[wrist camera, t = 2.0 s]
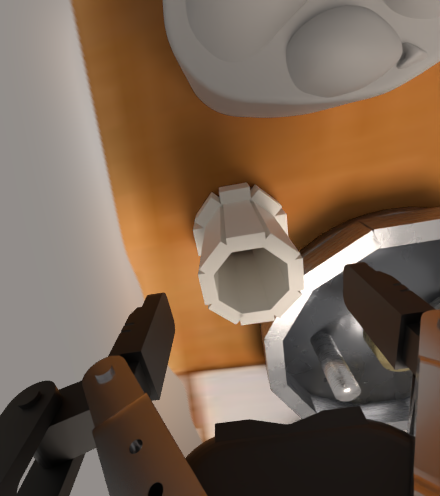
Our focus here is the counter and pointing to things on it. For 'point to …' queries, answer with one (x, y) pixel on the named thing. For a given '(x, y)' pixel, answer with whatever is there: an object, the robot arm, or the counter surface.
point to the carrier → (351, 317)
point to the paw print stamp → (299, 51)
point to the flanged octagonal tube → (246, 256)
